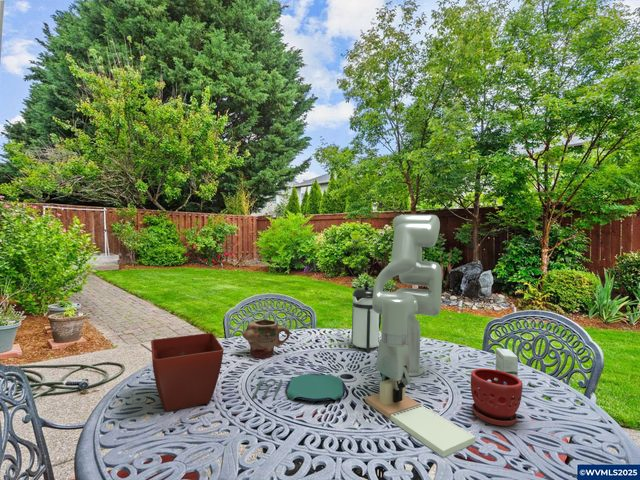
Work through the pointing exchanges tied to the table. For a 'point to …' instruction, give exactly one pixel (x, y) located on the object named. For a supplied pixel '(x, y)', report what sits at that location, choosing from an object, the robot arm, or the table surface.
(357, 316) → the coffee press
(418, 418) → the pale green notepad
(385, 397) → the light switch
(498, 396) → the plant pot
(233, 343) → the table surface
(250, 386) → the table surface
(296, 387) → the cutlery set
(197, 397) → the plant pot
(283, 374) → the table surface
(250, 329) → the brown sculpted mug
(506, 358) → the ink box
